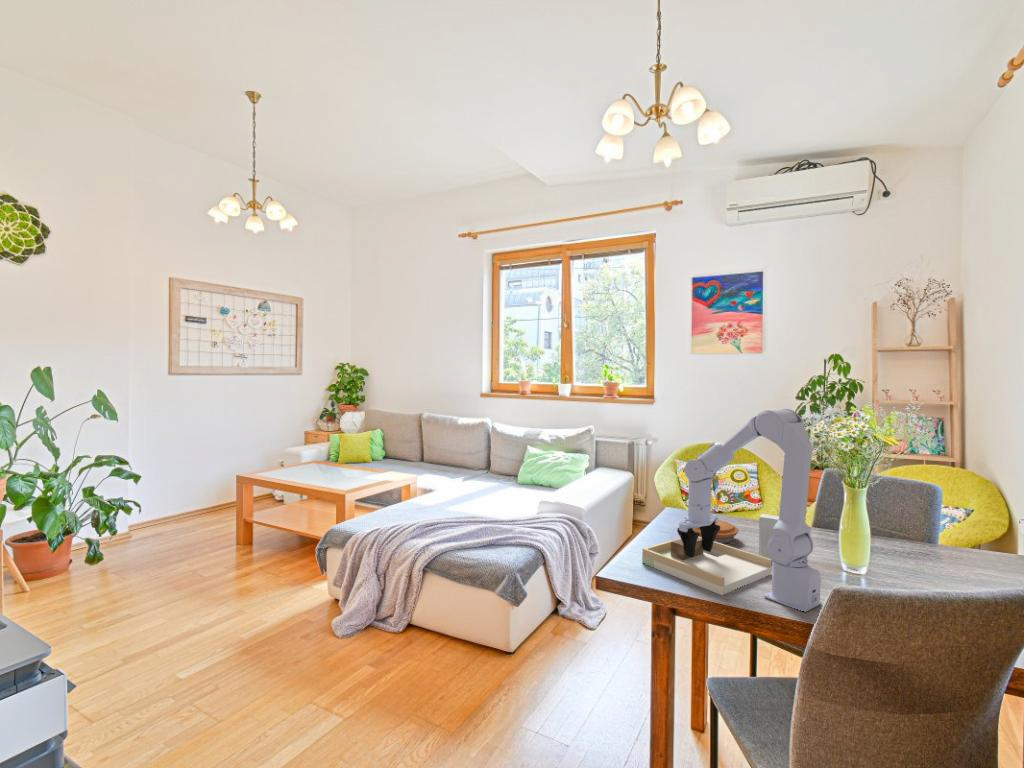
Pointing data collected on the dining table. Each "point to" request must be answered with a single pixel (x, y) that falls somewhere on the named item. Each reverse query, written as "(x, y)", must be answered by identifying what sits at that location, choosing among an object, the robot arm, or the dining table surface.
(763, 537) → the skincare box
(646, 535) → the dining table surface
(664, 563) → the shallow cream tray
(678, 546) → the walnut block
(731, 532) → the pie
